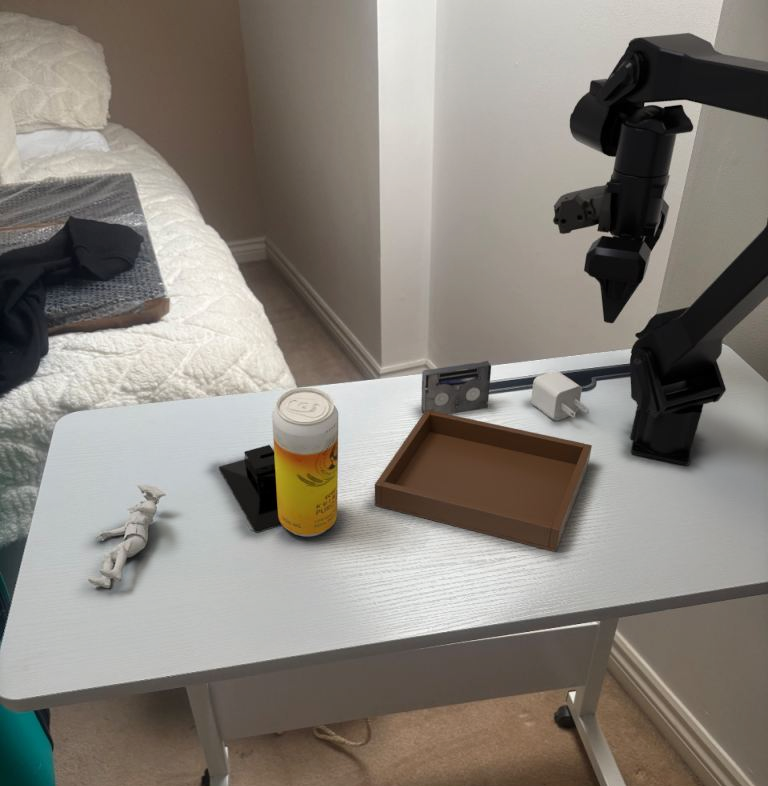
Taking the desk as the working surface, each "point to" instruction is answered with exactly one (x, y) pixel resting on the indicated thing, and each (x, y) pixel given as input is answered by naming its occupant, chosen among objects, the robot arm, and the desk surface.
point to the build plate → (255, 487)
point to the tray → (485, 478)
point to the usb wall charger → (557, 395)
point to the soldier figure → (129, 536)
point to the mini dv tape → (456, 388)
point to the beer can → (306, 460)
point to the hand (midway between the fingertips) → (616, 305)
